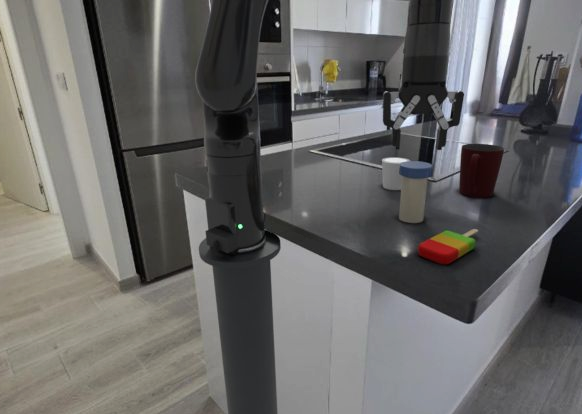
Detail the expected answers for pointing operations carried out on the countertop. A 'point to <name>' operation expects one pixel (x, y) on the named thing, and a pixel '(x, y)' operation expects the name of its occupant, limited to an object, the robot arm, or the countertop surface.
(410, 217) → the jar
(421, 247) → the popsicle
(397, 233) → the countertop surface
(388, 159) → the white short cylinder
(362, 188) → the countertop surface
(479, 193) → the mug
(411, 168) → the lid
